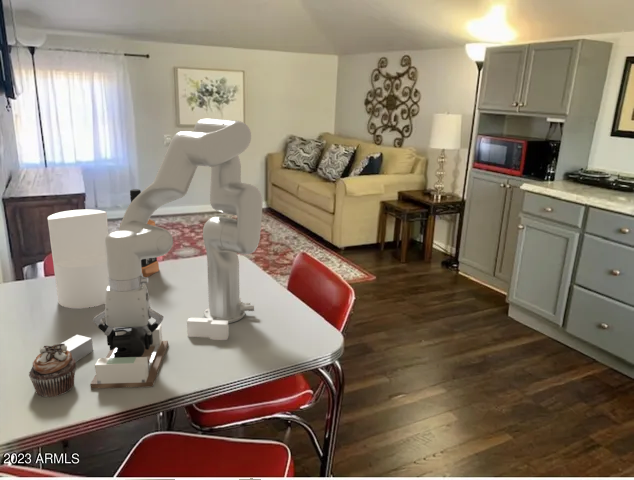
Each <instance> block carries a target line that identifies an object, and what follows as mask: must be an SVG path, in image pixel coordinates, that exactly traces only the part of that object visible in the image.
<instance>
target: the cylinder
mask: <svg viewBox="0 0 634 480" xmlns="http://www.w3.org/2000/svg"><path fill="white" fill-rule="evenodd" d="M46 219H47V225H48V233H49V240H50V248H51V257H52V263H53V271H54V273H53V274H54V279H55V285H56V286H55V287H56V295H57V302H58V304H59V305H60V306H62V307H63V306H64V308H66V309H68V308H69V309H89V307H90V308H94V306H95V307H99V306H102V305H105V298H106V290H107V287H108V286H109V279H108V267H107V256H106V245H105V239H106V236H107V235H108V234H109V233H110V232H109V224H108V223H109V222H108V215H107V211H104V210H99V209H86V208H85V209H73V210H72V209H71V210H64V211H59V212H56V213H53V214H50V215H48V216H47V218H46Z"/></svg>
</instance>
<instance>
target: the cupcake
mask: <svg viewBox="0 0 634 480" xmlns="http://www.w3.org/2000/svg"><path fill="white" fill-rule="evenodd" d="M76 362H77V361H76ZM76 362H75V359H73V358H72V354H71V353H70V352H69V351H68V350H67V346H65V344H61V343H57V344H53V345H44V346H42V347H40V349H39V354H37V356H36V358H35V359H34V360H33V362H32V366H31V369H30V371H29V372H28V376H29V379H30V380H31V383H32V385H33V388H34V390H35V393H36V395H38V396H39V397H41V398H42V397H43V398H54V397H58V396H61V395H65V394H66V393H67V392H69V391H70V390H71V389H72V388H73V387H74V386H75V375H76V370H77V363H76Z"/></svg>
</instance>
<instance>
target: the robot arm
mask: <svg viewBox="0 0 634 480" xmlns="http://www.w3.org/2000/svg"><path fill="white" fill-rule="evenodd" d="M193 129H194V130H193V131H189V130H185V131H184V130H183V131H179V132H177V133H175V134H174V135H173V136H172V138H171V140H170V142H169V144H168V147H167V149H166V152H165V154H164V155H163V159H162V161H161V164H160V166H159V169H158V171H157V173H156V175H155V177H154V180H153V181H152V183H150V184H149V185H148V186H147V187H146V188H144V189H143V190H142V191H141V193H140V194H139V195H138V196H137V197H136V198H135V199H134V200H133V201H132V202H131V201H130V204H128V206H127V208H126V211H125V212H124V215H123V218H122V220H121V222H120V223H121V224H120V223H119V228H118V230H115V231H112V232H108V233H109V234H108V235H107V236H106V239H105V245H106V256H107V267H108V279H109V286H108V287H107V290H106V298H105V304H104V310H103V311H101V312H99V313H98V314H96V315H95V316H94V317H93V319H92V322H93V324H95V326H97V328H98V329H99V330H100V331H102V332H103V333H104V335H105V336H106V342H107V346H109V351H110V350H113V349H114V348H113V337H114V336H116V332H115V327H142V329H143V330H144V331H145V332H146V334H145V349H146V350H148V349H149V347H150V345H152V344H153V335H152V332H153V331H154V330H155V329H157V327H158V326H159V325H160V324H162V322H163V320H164V316H163V315H162V314H161V313H158V312H157V311H155V310H154V309H152V307H151V300H150V295H149V290H148V287H147V285H146V284H149V277H143V273H142V269H141V260H142V259H147V258H155V257H157V258H160V257H162V256H164V255H166V254H167V253H169V252H170V250H171V249H172V247H173V245H174V239H173V236H172V234H171V232H170V231H168V230H167V229H165V228H163V227H160V226H157V225H155V226H153V225H149V224H147V222H148V220H149V219H151V217H152V215H153V214H154V213H155V212H156V211H157V210H158V209H160V207H161V208H162V206H164V205H166V204H169V203H171V202H173V201H176V200H179V199H181V198H183V197H186V195H187V194H188V191H189V188H190V185H191V183H192V181H193V178H194V176H195V173H196V170H197V169H198V166H200V167H208V168H210V169H211V170H210V191H209V192H210V194H209V204H210V206H211V208H212V209H213V210H215V211H217V212H219V213H222V214H223V213H224V214H226V215H227V214H228V215H233V216H236V218H237V219H236V218H232V217H227V216H213V217H210V218H209V219H207V220H206V222H205V223H204V224H203V228H202V237H203V243H204V246H205V251H206V261H207V263H206V265H207V289H208V290H207V291H208V293H207V294H208V307H207V308H206V309H205V310H204V311H203V318H213V320H221V321H228V324H233V323H235V322H238V321H241V320H242V319H243V318H244V317H245V316H246V315H245V314H246V312H255V304H251V302H243V301H242V298H241V297H240V259H239V256H238V254H241V255H251V254H253V253H254V252H256V250H257V248H258V246H259V244H260V243H259V242H260V239H261V231H262V230H261V229H262V216H263V197H262V193H261V191H260V189H259V188H258V187H257V186H255V185H254V184H251V183H246V182H242V180H241V179H242V177H241V175H242V170H241V169H242V166H241V165H242V164H241V159H240V157H239V155H241V154H243V153H244V152H245V151H246V150H247V149H248V148H249V146H250V144H251V141H252V132H251V129H250V127H249V126H248V125H247V124H246V123H245V122H244V121H240V120H234V119H222V118H212V117H211V118H202V119H199V120H198V121H196V123H195V124H194V127H193ZM103 319H104V320H105V321H103ZM151 319H153V320H155V321H154V322H152V323H151V322H150V321H149V320H151Z"/></svg>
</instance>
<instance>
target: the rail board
mask: <svg viewBox="0 0 634 480" xmlns="http://www.w3.org/2000/svg"><path fill="white" fill-rule="evenodd" d="M168 346H169V340H162V343H161V345H160V347H159V350H158V352H157V355H156V357H155V360H154V362H153V365H152V367H151V370H150V372H149V376H148V378H147V381H146V382H143V383H109V384H97V379H96V374H95V376H94V377H93V379H92V380H91V382H90V385H89V387H90V389H117V388H118V389H119V388H122V389H123V388H146V387H147V388H148V387H149V388H151V387H154V384H155V383H156V379H157V376H158V373H159V371H160V368H161V366H162V363H163V360H164V357H165V355H166V352H167V348H168ZM154 349H155V346H150V347H149V349H148V350H146V349H145V350H144V353H143V355H142V356H141V357H147V360H148V363H149V361H150V358H151V356H152V353H153V351H154ZM114 350H115V348H114V349H113V350H110V349H109V351H108V353H107V354H106V355H105V358H110V357H111V356H112V354H113V352H114Z"/></svg>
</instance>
